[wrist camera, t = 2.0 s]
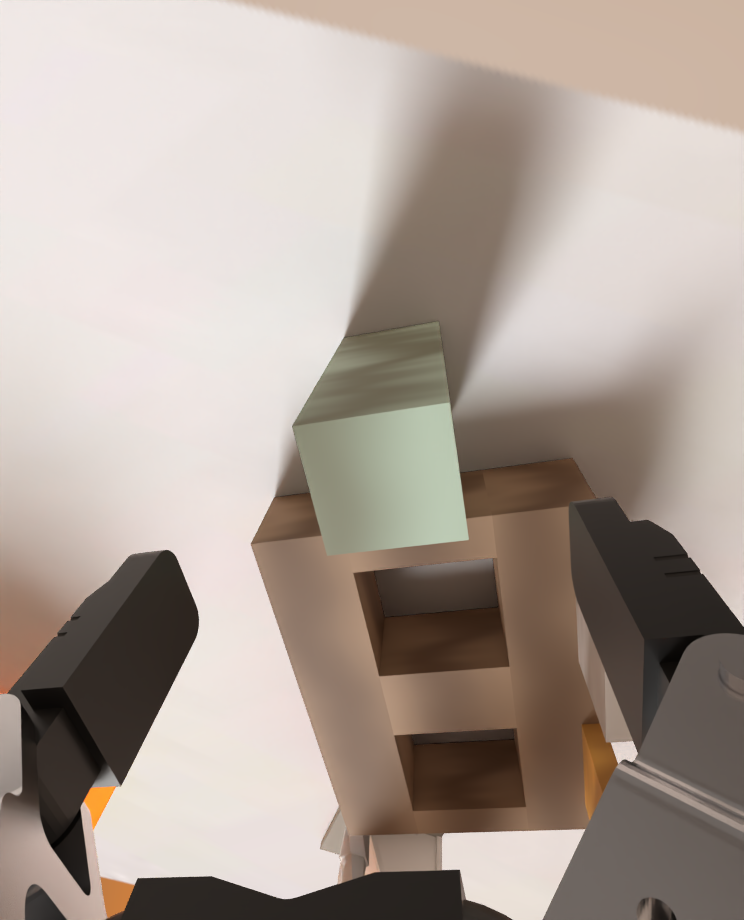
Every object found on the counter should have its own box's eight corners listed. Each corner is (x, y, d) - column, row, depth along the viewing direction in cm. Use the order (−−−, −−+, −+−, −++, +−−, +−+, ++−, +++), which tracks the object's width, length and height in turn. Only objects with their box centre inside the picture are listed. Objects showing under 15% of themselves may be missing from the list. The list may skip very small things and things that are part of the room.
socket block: (572, 458, 24) (636, 566, 17) (585, 758, 32) (632, 918, 25) (274, 497, 26) (218, 608, 19) (356, 769, 35) (339, 919, 27)
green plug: (438, 321, 22) (449, 402, 13) (451, 412, 24) (468, 540, 15) (343, 337, 23) (292, 426, 14) (362, 425, 24) (327, 555, 15)
